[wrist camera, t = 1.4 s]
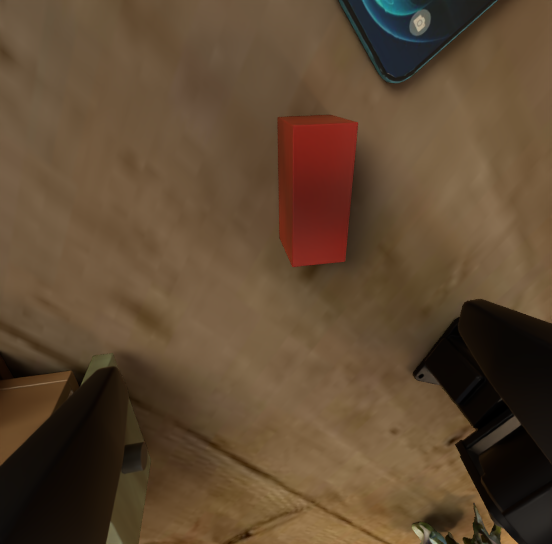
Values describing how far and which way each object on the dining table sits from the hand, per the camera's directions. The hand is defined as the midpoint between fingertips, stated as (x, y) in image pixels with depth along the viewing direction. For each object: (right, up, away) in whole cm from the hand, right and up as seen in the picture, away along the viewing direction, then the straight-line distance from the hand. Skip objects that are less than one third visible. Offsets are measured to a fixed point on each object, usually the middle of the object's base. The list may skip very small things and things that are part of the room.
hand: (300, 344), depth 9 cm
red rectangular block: (+1, +7, +10) cm, 12 cm away
